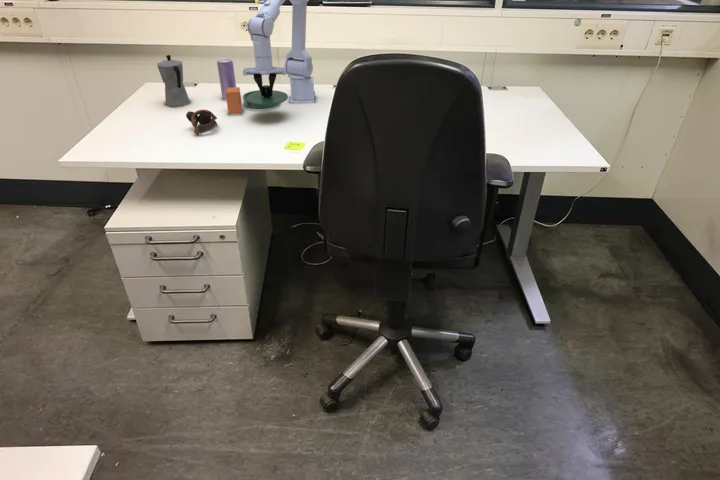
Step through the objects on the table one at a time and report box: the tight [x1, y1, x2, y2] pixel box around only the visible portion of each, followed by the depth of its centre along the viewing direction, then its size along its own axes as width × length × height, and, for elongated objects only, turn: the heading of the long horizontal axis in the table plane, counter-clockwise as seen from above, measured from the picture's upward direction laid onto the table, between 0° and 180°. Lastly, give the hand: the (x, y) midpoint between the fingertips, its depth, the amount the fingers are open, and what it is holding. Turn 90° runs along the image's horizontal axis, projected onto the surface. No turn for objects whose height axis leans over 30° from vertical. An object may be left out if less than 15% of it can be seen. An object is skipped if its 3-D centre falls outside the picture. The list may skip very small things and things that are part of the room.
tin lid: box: [246, 84, 289, 105], centre depth 176 cm, size 14×14×5 cm
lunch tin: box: [242, 89, 279, 110], centre depth 192 cm, size 13×13×4 cm
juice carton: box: [225, 86, 243, 115], centre depth 184 cm, size 4×6×8 cm
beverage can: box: [216, 57, 237, 100], centre depth 195 cm, size 6×6×15 cm
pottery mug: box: [185, 109, 219, 136], centre depth 170 cm, size 12×10×8 cm
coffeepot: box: [156, 54, 190, 108], centre depth 188 cm, size 15×9×18 cm, turn 36°
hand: (267, 95), depth 176 cm, fingers closed on tin lid, 2 cm apart
